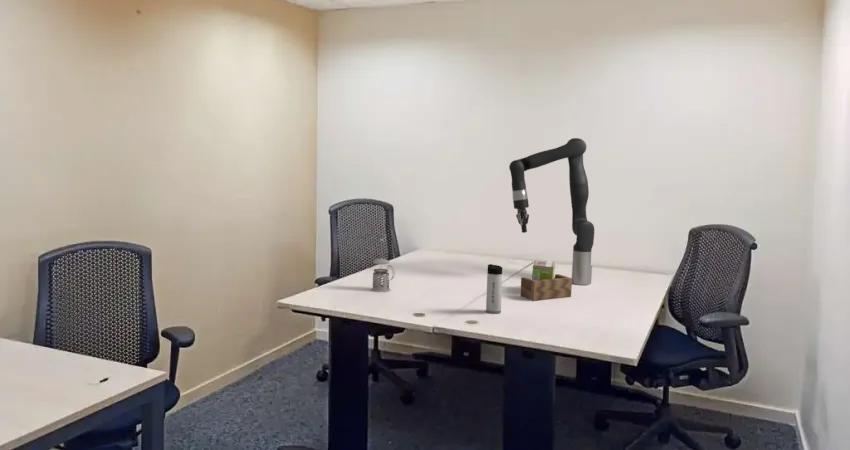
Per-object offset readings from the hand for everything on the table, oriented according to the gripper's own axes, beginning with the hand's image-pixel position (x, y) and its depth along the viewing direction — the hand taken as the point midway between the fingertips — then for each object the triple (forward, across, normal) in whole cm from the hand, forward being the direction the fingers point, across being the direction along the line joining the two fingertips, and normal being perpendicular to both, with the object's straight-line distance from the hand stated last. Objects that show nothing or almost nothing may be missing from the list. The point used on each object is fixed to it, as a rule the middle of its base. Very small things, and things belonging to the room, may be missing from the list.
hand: (524, 232), depth 327 cm
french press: (+17, -8, +78) cm, 80 cm away
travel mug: (+27, -53, +37) cm, 70 cm away
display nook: (+29, -27, +4) cm, 40 cm away
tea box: (+29, -21, +2) cm, 36 cm away
